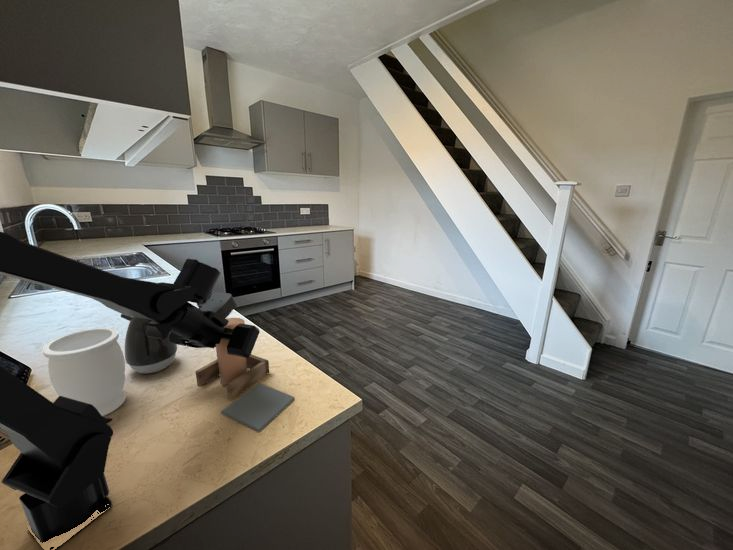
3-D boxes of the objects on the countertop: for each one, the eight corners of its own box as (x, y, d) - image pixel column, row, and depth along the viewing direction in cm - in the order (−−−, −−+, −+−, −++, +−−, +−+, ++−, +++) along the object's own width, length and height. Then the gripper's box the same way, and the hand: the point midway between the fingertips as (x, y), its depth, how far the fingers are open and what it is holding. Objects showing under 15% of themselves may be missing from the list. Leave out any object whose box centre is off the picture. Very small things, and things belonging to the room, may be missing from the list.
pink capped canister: (232, 391, 63) (225, 333, 60) (211, 382, 66) (203, 326, 63) (256, 374, 69) (251, 321, 66) (236, 367, 72) (230, 315, 69)
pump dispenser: (146, 356, 76) (135, 302, 72) (187, 355, 77) (179, 302, 73) (116, 380, 66) (102, 319, 62) (164, 379, 67) (153, 319, 63)
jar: (63, 405, 58) (43, 337, 54) (128, 383, 65) (115, 322, 61) (62, 436, 51) (39, 361, 47) (136, 408, 58) (121, 340, 54)
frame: (231, 400, 61) (229, 386, 60) (197, 384, 65) (195, 371, 64) (269, 373, 70) (268, 360, 69) (237, 361, 75) (236, 349, 74)
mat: (259, 432, 53) (258, 429, 53) (221, 413, 57) (221, 410, 57) (294, 399, 62) (294, 396, 61) (259, 385, 66) (259, 382, 66)
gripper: (250, 289, 55) (283, 319, 69) (172, 280, 60) (217, 309, 73) (225, 346, 50) (266, 366, 63) (142, 330, 55) (196, 353, 68)
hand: (235, 346), depth 67 cm, fingers closed on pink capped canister, 6 cm apart
